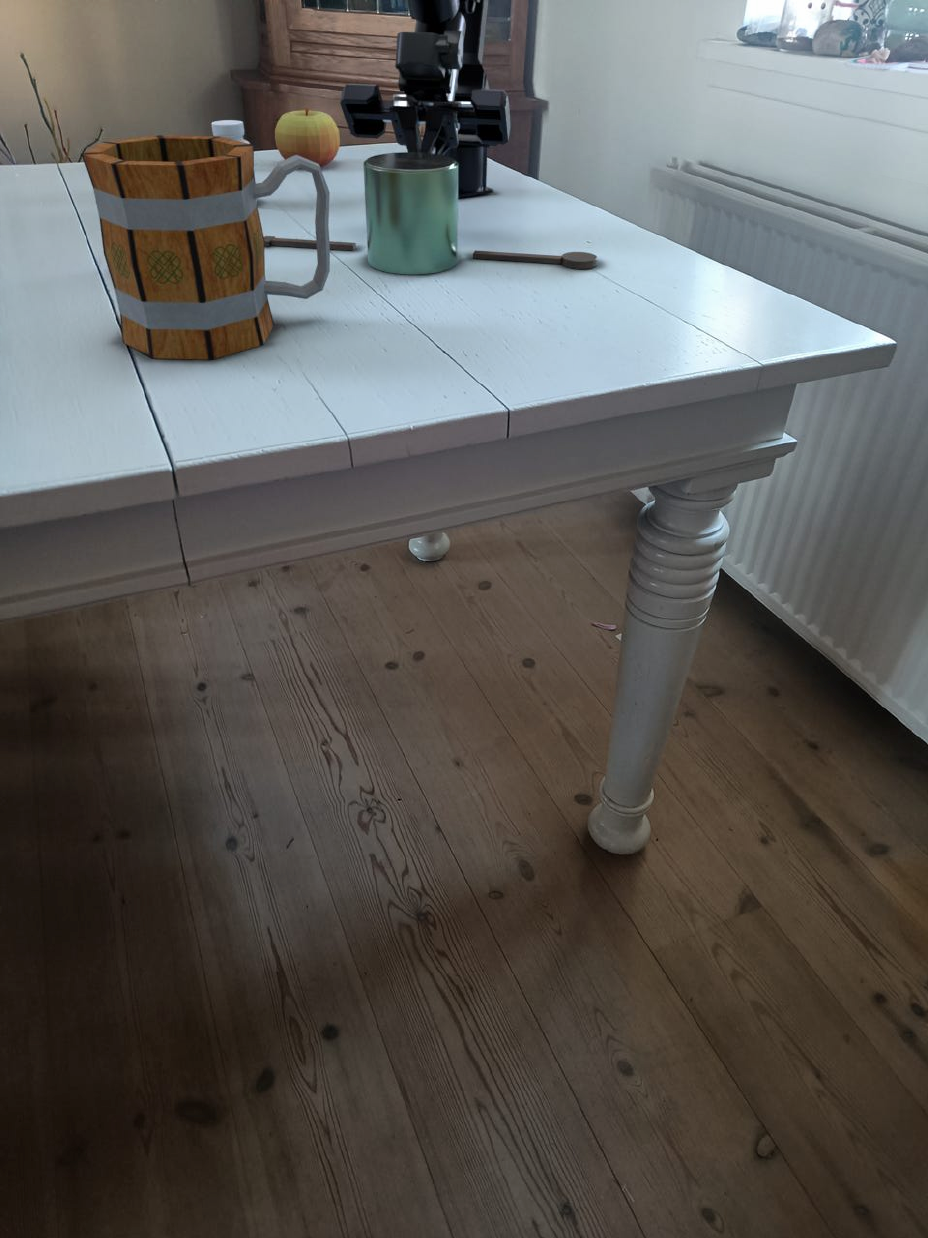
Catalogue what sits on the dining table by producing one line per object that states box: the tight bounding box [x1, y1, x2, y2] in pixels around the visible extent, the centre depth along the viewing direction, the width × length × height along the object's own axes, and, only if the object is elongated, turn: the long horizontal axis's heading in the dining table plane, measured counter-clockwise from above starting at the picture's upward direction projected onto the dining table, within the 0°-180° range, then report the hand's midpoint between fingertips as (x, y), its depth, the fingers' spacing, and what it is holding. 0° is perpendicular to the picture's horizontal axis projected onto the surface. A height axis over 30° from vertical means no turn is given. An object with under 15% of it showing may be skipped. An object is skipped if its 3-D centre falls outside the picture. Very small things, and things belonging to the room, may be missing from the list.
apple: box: [274, 108, 341, 168], centre depth 139 cm, size 10×10×8 cm
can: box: [363, 151, 459, 275], centre depth 97 cm, size 10×10×10 cm
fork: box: [263, 235, 357, 252], centre depth 104 cm, size 15×2×1 cm, turn 80°
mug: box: [81, 134, 331, 360], centre depth 78 cm, size 20×14×15 cm
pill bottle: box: [211, 119, 259, 202], centre depth 117 cm, size 5×5×10 cm
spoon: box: [472, 249, 599, 270], centre depth 101 cm, size 14×4×1 cm, turn 80°
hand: (415, 181), depth 100 cm, fingers closed, pressing on can
